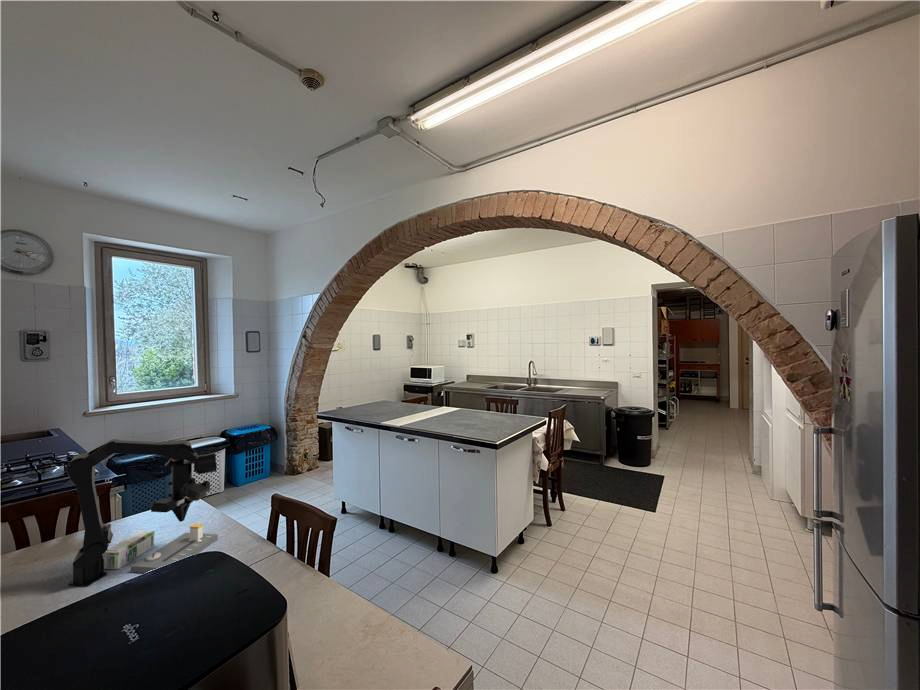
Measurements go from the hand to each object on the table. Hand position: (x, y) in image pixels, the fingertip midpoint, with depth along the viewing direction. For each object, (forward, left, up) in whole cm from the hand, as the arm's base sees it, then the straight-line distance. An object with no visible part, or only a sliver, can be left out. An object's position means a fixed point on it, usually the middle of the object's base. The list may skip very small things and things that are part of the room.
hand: (181, 521), depth 133 cm
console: (0, +2, -12) cm, 12 cm away
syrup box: (+4, +17, -9) cm, 20 cm away
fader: (+7, 0, -10) cm, 12 cm away
